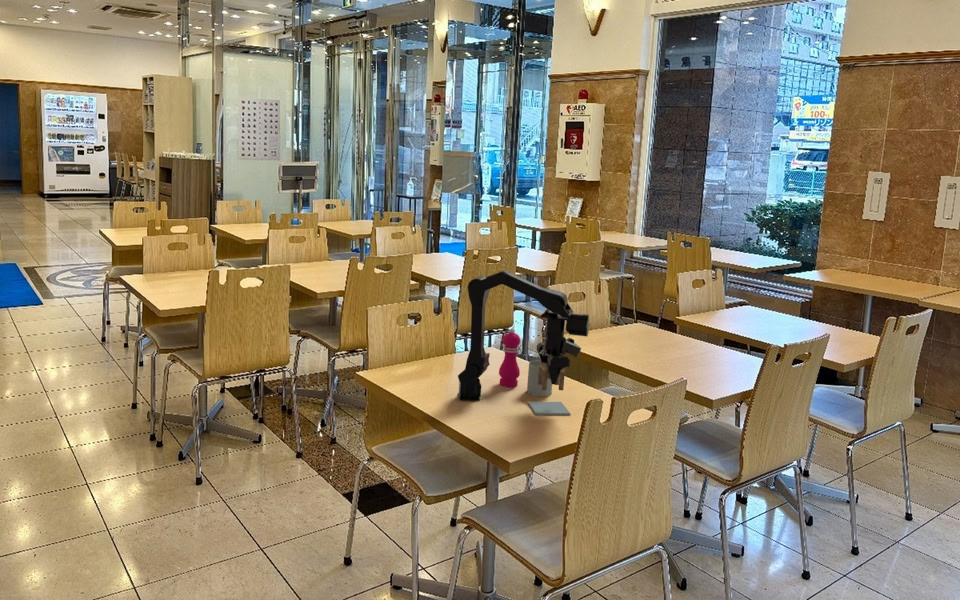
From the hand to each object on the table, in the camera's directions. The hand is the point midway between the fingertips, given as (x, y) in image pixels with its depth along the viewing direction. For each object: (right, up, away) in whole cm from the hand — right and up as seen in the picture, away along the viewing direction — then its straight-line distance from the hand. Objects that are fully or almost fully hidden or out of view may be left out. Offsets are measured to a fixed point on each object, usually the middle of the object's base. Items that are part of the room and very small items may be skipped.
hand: (550, 380), depth 243 cm
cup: (-2, -6, +18) cm, 20 cm away
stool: (0, -2, 0) cm, 2 cm away
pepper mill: (-12, -4, +25) cm, 28 cm away
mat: (0, -9, +2) cm, 9 cm away
